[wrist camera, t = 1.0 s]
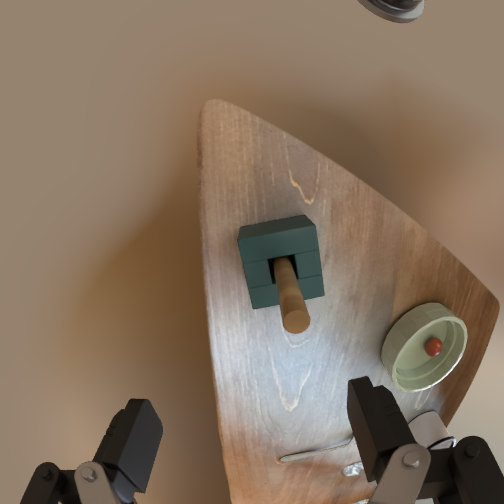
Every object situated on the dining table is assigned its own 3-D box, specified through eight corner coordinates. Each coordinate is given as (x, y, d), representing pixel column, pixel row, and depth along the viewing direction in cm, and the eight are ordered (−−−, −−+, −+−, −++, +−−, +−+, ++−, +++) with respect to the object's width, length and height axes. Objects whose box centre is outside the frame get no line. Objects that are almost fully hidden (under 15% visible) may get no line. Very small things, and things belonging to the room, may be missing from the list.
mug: (401, 420, 43) (416, 453, 34) (441, 401, 42) (460, 431, 33) (398, 448, 46) (410, 477, 37) (434, 431, 45) (449, 458, 36)
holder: (240, 226, 33) (237, 239, 27) (304, 214, 32) (315, 224, 26) (253, 286, 35) (252, 309, 29) (313, 274, 34) (324, 296, 28)
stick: (269, 245, 33) (280, 312, 18) (284, 242, 33) (308, 307, 18) (272, 260, 34) (285, 336, 18) (287, 257, 34) (311, 330, 18)
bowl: (381, 313, 36) (395, 332, 31) (455, 291, 35) (473, 305, 30) (377, 382, 39) (388, 402, 34) (444, 358, 38) (458, 375, 34)
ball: (422, 337, 36) (431, 347, 33) (438, 331, 36) (447, 341, 33) (420, 352, 37) (428, 363, 34) (435, 346, 37) (444, 356, 34)
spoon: (381, 430, 43) (384, 435, 42) (283, 463, 46) (284, 470, 44) (379, 419, 42) (381, 426, 41) (276, 455, 45) (276, 461, 43)
